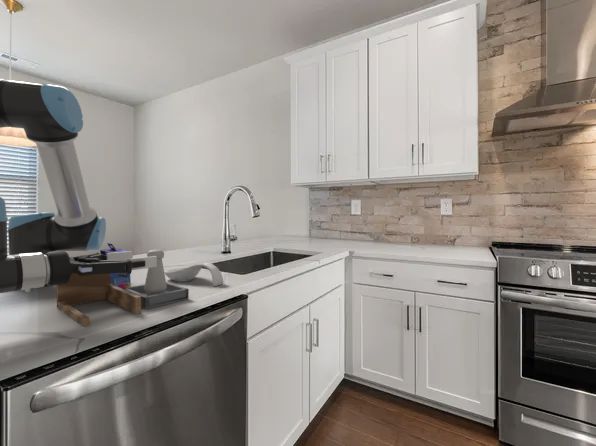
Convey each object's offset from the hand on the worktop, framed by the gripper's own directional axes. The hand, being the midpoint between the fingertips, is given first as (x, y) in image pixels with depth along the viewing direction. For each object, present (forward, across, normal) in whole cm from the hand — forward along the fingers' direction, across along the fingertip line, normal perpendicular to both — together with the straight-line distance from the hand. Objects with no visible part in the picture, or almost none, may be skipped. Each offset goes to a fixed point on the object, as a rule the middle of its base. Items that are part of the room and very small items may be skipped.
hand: (143, 258), depth 84 cm
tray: (+3, 0, -12) cm, 12 cm away
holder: (-11, -1, -12) cm, 16 cm away
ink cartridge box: (+1, -20, -12) cm, 24 cm away
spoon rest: (+23, -11, -12) cm, 28 cm away
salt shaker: (+3, 0, -11) cm, 12 cm away
